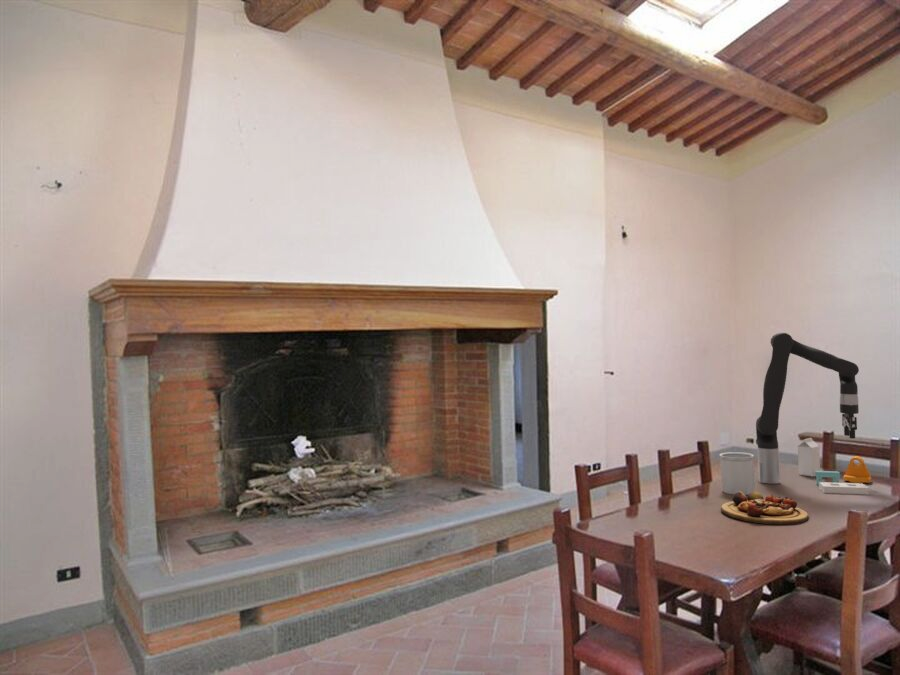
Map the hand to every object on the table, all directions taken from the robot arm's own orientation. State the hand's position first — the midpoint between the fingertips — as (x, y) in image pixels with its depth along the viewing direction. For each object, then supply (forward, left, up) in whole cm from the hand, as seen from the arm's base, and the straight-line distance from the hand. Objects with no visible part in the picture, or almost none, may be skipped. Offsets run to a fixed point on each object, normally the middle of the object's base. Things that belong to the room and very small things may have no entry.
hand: (849, 437), depth 293 cm
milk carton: (-13, +22, -23) cm, 35 cm away
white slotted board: (-7, -14, -23) cm, 28 cm away
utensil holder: (-52, -23, -23) cm, 62 cm away
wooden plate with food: (-47, -62, -24) cm, 81 cm away
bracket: (+5, +9, -24) cm, 25 cm away
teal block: (-10, -1, -23) cm, 25 cm away
